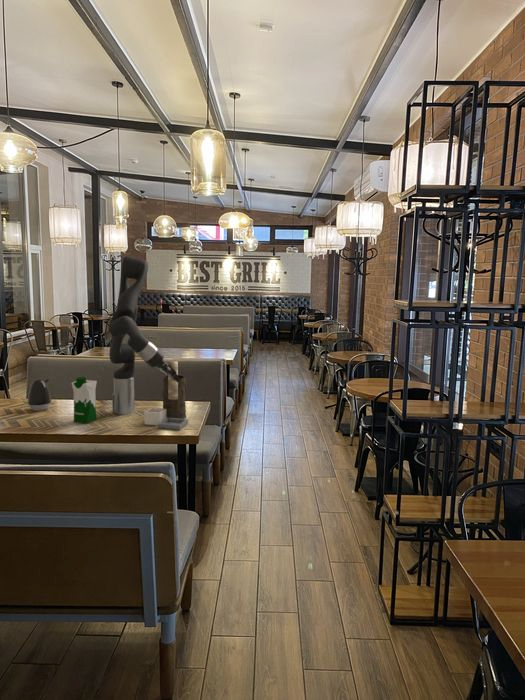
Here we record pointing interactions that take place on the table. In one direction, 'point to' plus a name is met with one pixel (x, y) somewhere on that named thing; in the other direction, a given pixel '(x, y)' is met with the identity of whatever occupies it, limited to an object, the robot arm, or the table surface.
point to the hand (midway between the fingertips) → (177, 379)
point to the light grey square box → (154, 416)
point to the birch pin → (173, 382)
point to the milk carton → (84, 400)
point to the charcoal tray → (173, 424)
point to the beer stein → (175, 406)
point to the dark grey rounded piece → (39, 395)
